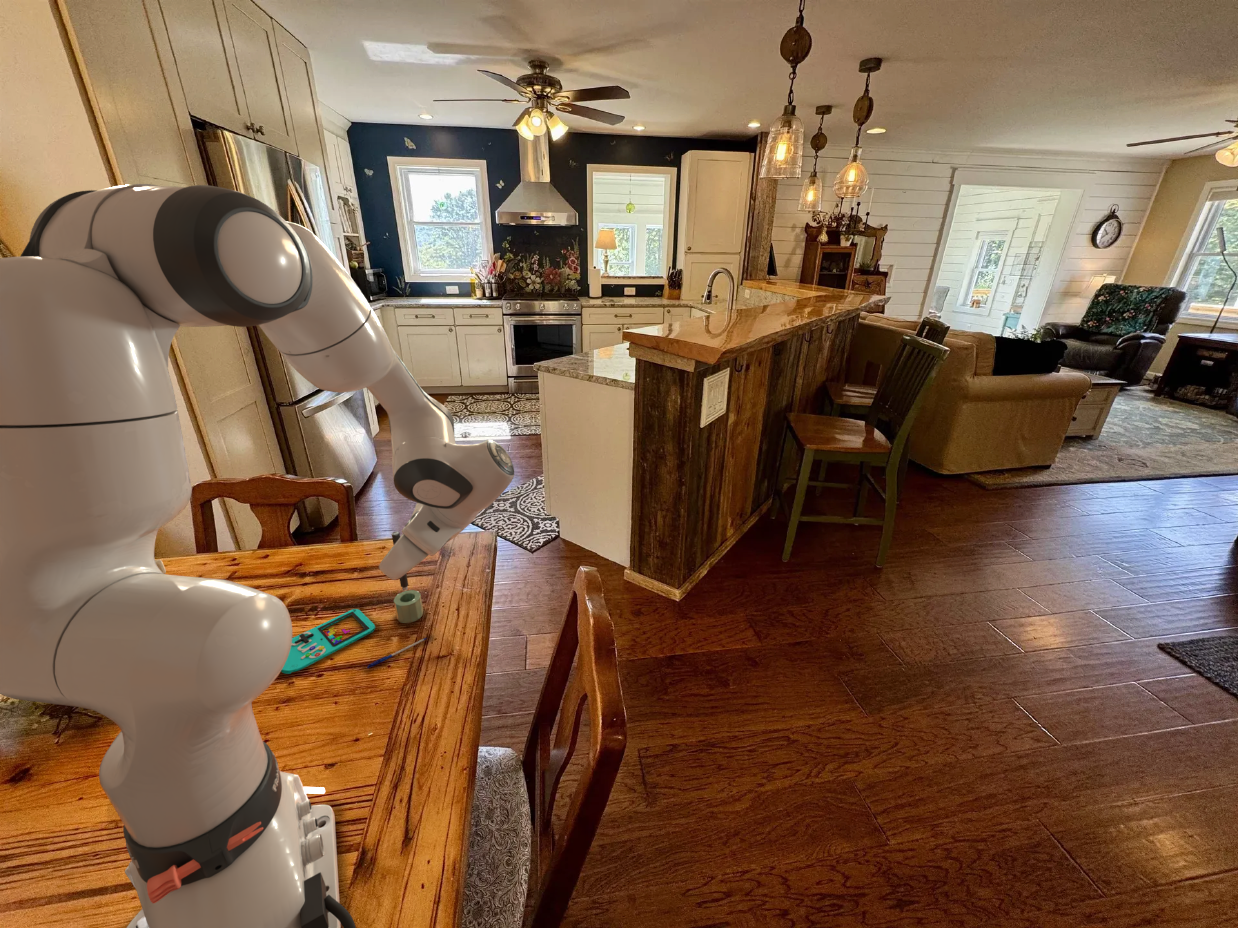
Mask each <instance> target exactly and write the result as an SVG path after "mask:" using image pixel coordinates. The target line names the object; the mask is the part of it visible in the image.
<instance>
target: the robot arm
mask: <svg viewBox="0 0 1238 928" xmlns="http://www.w3.org/2000/svg"><path fill="white" fill-rule="evenodd" d="M224 326H225V327H226V326H231V327H237V328H248V327H254V326H259V328H260V329H261V331H262V332H263V333H264V335H265V336H266V337H267V338H268V340H269V341H270V342H271V343H272V345H273V346H274V347H275V348H276V349H277V350H278V352H279V353H280V354H281V355H282V356H283V358H284V359H285V360H286V361H287V362H288V363H289V365H290V366H291V367H292V368H293V369H294V370H295V371H296V372H297V373H298V374H299V375H300V376H301V377H302V378H304V379H305V380H306V381H307V382H309V383H310V384H311V385H313V386H314V387H316V388H317V389H318V390H322V391H326V392H331V393H340V394H341V393H351V392H357V391H360V390H363V389H367V390H368V391H369V392H370V394H371V395H372V396H373V397H374V398H375V400H377V402H378V403H379V405H381V407H382V408H383V409H384V410H385V411H386V413H387V416H388V424H389V433H390V438H391V457H392V458H391V459H392V460H391V464H392V465H391V466H392V478H393V485H394V487H395V490H396V491H397V492H398V493H399V494H400V495H401V496H402V497H404V498H405V499H407V500H409V501H411V502H414V503H416V504H415V506H414V510H413V512H412V514H411V517H410V518H409V519H408V521H407V523H406V524H405V525H404V527H403V528H402V529H401V534H400V538H399V539H398V541H397V542H396V543H395V544H394V545H392V547H391V548H390V550H389V551H388V552H387V553H386V554H385V556H384V557H383V558H382V560H381V561H380V563H379V564H378V570H379V571H380V572H381V573H382V574H384V575H385V576H386V577H387V578H389V579H391V580H392V581H396V580H397V581H398V580H400V579H399V578H401V577H402V576H404V575H405V574H406V573H407V574H408V573H409V572H411V571H412V570H413V569H414V568H415V567H416V566H418V565H419V564H420V563H421V562H423V561H424V560H425V559H426V558H428V556H430V557H434V556H435V555H436V554H437V553H438V552H440V550H441V549H442V548H443V547H445V546H446V544H448V543H449V542H451V541H452V540H453V539H455V538H456V537H458V536H459V535H460V534H461V533H462V532H463V531H464V530H465V529H466V528H467V527H468V526H470V524H472V522H474V521H475V519H476V518H477V516H478V514H479V513H480V512H481V511H483V510H485V509H487V508H489V507H490V506H491V505H492V504H493V503H494V502H495V501H496V500H498V498H499V497H500V496H501V495H502V494H503V493H504V492H505V491H506V490H507V488H508V487H509V486H510V484H511V483H512V481H513V480H514V477H515V468H514V464H513V461H512V458H511V456H510V455H509V453H508V452H507V450H505V447H503V446H502V445H501V444H500V443H498V442H496V441H494V440H493V439H486V440H484V441H482V442H479V443H474V444H459V443H458V444H457V443H456V438H455V437H456V436H455V422H454V421H455V420H454V417H453V415H452V413H451V412H450V411H449V409H448V408H447V407H446V406H445V405H443V404H442V403H441V402H440V401H438V400H436V399H435V398H433V397H432V396H430V395H429V394H428V393H426V392H425V391H424V390H423V388H422V387H421V386H420V384H419V383H418V382H417V380H416V378H414V376H413V375H412V373H411V372H410V370H409V369H408V367H407V366H406V365H405V363H404V362H403V360H402V359H401V358H400V356H399V355H398V353H397V352H396V350H395V349H394V348H393V346H392V344H391V341H390V339H389V337H388V335H387V333H386V330H385V329H384V326H383V325H382V323H381V321H380V319H379V317H378V315H377V314H376V312H375V311H374V309H373V308H372V306H371V304H370V303H369V301H368V299H367V298H366V296H365V295H364V294H363V292H362V290H361V289H360V287H359V286H358V284H357V283H356V281H354V279H353V278H352V276H351V275H350V274H349V272H348V271H347V270H346V269H345V267H344V266H343V265H342V263H341V262H340V261H339V260H338V259H337V258H336V256H335V255H334V254H333V252H332V251H331V250H330V249H329V248H328V247H327V246H326V245H325V244H324V243H323V242H322V241H321V239H319V237H318V236H317V235H315V233H314V232H312V231H311V230H310V229H308V228H307V227H304V226H303V225H301V224H298V223H296V222H291V221H286V220H285V219H284V218H283V217H282V216H281V215H280V214H279V213H278V212H277V211H276V210H274V209H272V208H271V207H270V206H269V205H267V204H266V203H264V202H263V201H261V200H260V199H257V198H255V197H253V196H251V195H248V194H246V193H243V192H241V191H237V190H234V189H230V188H225V187H222V186H216V185H215V186H213V185H207V184H195V185H190V186H189V185H188V186H185V187H184V186H177V185H176V186H175V185H174V186H173V185H158V184H151V183H135V184H134V183H132V184H125V185H115V186H112V187H106V188H102V189H98V190H95V189H91V190H80V191H75V192H72V193H69V194H66V195H64V196H61V197H59V198H58V199H56V200H54V201H53V202H51V203H50V204H49V205H48V206H46V207H45V208H44V209H43V210H42V211H41V212H40V213H39V215H38V216H37V217H36V219H35V222H34V223H33V226H32V228H31V231H30V235H29V240H28V242H27V244H26V246H25V248H24V249H23V251H22V252H21V254H20V255H19V256H7V257H1V258H0V695H1V696H3V697H7V698H10V699H13V700H19V701H27V702H36V703H43V704H52V705H60V706H68V707H74V708H81V709H86V710H91V711H94V712H96V713H99V714H101V715H102V716H103V717H106V718H107V719H109V720H110V721H112V722H113V723H114V724H116V725H117V727H118V728H119V729H120V732H119V733H118V734H117V735H116V737H115V738H114V739H113V742H112V743H111V744H110V746H109V748H108V749H107V750H106V752H105V754H104V756H103V758H102V760H101V762H100V765H99V770H98V779H99V784H100V786H101V788H102V790H103V791H104V793H105V795H106V797H107V798H108V800H109V802H110V804H111V805H112V807H113V809H114V810H115V812H116V814H117V816H118V817H119V819H120V821H121V822H122V824H123V828H122V829H123V830H122V831H123V837H124V840H125V846H126V847H125V848H126V850H127V853H128V855H129V858H130V860H131V861H130V862H129V863H128V866H127V867H126V868H125V870H124V874H125V875H126V877H127V878H128V880H129V881H130V883H131V884H132V885H133V887H134V888H135V891H136V893H137V897H138V900H139V903H140V905H141V909H140V911H138V913H137V914H136V915H135V916H134V917H133V918H132V920H131V921H130V922H129V923H128V925H127V926H126V928H357V927H356V924H355V921H354V919H353V917H352V915H351V914H350V912H349V911H348V910H347V908H346V907H344V905H343V904H341V903H340V889H339V887H340V886H339V885H340V884H339V873H338V872H339V868H338V852H337V833H336V817H335V815H336V814H335V811H334V810H333V808H332V806H330V805H328V804H315V805H312V803H311V800H310V799H309V798H308V795H307V794H318V795H320V794H322V795H324V794H325V793H326V789H325V787H321V786H320V787H319V786H317V787H316V786H303V785H304V784H303V782H302V780H301V778H300V776H299V774H294V773H290V772H286V771H282V770H280V768H279V762H278V760H277V758H276V755H275V753H274V752H273V750H272V749H271V747H270V746H269V745H268V744H267V742H265V741H263V738H262V735H261V733H260V729H259V726H258V724H257V720H256V718H255V715H254V714H255V713H254V711H253V704H252V703H253V702H254V701H255V700H256V699H258V698H259V697H260V696H261V695H262V694H263V693H264V692H265V691H266V690H267V689H269V687H270V686H271V685H272V684H273V683H274V682H275V680H276V679H277V678H278V676H279V675H280V673H282V672H281V670H282V668H283V666H284V665H285V662H286V660H287V658H288V655H289V652H290V648H291V644H292V638H293V621H292V619H291V616H290V613H289V610H288V608H287V606H286V605H285V603H284V602H283V601H282V600H281V599H280V598H278V597H277V596H276V595H273V594H270V593H268V592H264V591H262V590H259V589H256V588H255V587H251V586H248V585H244V584H241V583H239V582H234V581H231V580H229V579H221V578H211V577H197V576H190V575H189V576H188V575H187V576H186V575H176V574H166V573H165V574H163V573H162V572H161V571H160V569H159V568H158V567H157V565H156V562H155V560H156V559H155V547H156V540H157V536H158V532H159V529H161V528H162V527H164V526H166V525H168V524H169V523H170V522H171V521H173V520H174V519H176V518H177V517H178V516H179V515H180V514H181V513H182V512H183V511H184V510H185V509H186V508H187V506H188V504H189V503H190V501H191V497H192V492H193V487H192V482H191V476H190V470H189V464H188V458H187V453H186V449H185V448H186V447H185V442H184V437H183V431H182V426H181V420H180V415H179V410H178V404H177V399H176V394H175V390H174V387H173V382H172V378H171V375H170V372H169V355H170V349H171V345H172V342H173V339H174V337H175V335H176V334H177V331H178V330H179V329H180V327H185V328H186V327H187V328H211V327H212V328H213V327H224Z"/></svg>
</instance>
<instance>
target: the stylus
mask: <svg viewBox="0 0 1238 928" xmlns="http://www.w3.org/2000/svg"><path fill="white" fill-rule="evenodd" d="M400 537H401V533H400V532H399V531H393V532H391V539H392V544H393V545H392V546H394V544H395V543H396V542H397V541H398V539H399V538H400ZM398 580H399V584H400V588H402V591H403V592H404V591H408V589H409V581H408V572H407V573H406V574H405V575H404V576H402V577H401V578H399V579H398Z"/></svg>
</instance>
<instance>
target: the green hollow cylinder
mask: <svg viewBox="0 0 1238 928" xmlns="http://www.w3.org/2000/svg"><path fill="white" fill-rule="evenodd" d="M393 605H394V611H395V616H396V619H397V620H398V622H400V623H402V624H411V623H414V622H416V621H418V620H420V619H421V617H422V616H423V615H424V605H423V600H422V595H421V593H420V592H419V591H418V590H416V589H415V590H414V589H409V590H408V589H407V590H405V591H404V590H403V591H402V592H399V593H398V594H397V595H396V596H395V597H394V599H393Z"/></svg>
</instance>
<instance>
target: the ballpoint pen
mask: <svg viewBox="0 0 1238 928" xmlns="http://www.w3.org/2000/svg"><path fill="white" fill-rule="evenodd" d="M427 638H428V637H425V638H422V639H420V640H418V641H416V642H414V643H412V644H410V645H408V646H406V647H404V648H402V649H400V650H397V651H396V652H394V653H392V654H389V655H387V656H383V657H381V658H379V659H377V660H375V661H373V662H371V663H369V664H368V665H367V668H366V669H370V668H372V667H374V666H376V665H378V664H380V663H383V662H384V661H386V660H388V659H390V658H392V657H394V656H396V655H397V654H400V653H402V652H403V651H406V650H408V649H410V648H412V647H414V646H417V645H418V644H420V643H422V642H424V641H426V640H427Z"/></svg>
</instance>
